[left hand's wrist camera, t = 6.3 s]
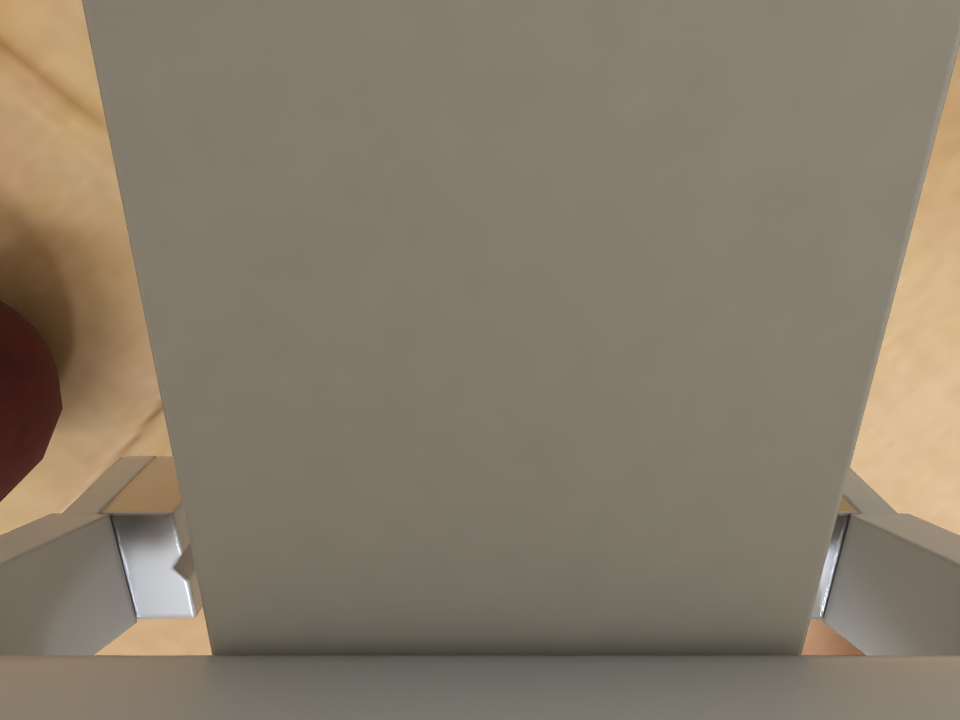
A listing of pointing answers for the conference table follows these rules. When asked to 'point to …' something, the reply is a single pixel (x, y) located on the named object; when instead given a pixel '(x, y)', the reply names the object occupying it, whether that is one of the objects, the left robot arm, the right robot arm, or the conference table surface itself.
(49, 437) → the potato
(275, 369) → the bar
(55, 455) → the conference table surface
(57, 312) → the conference table surface
